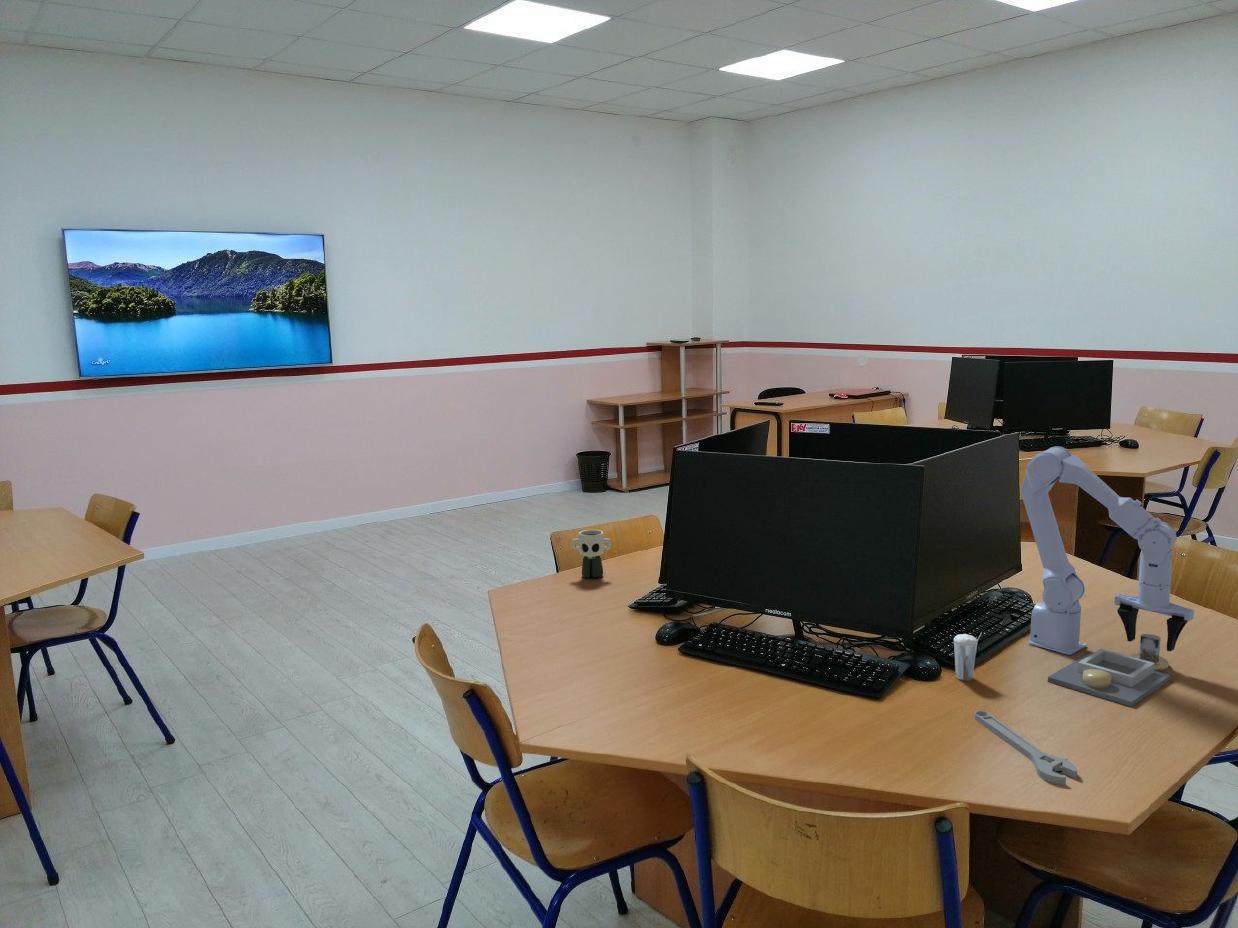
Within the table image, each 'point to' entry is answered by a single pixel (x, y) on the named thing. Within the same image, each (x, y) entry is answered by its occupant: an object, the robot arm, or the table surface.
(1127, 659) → the carrier
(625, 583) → the table surface
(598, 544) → the character mug
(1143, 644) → the flanged metal cylinder
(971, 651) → the milkshake
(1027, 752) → the adjustable wrench
